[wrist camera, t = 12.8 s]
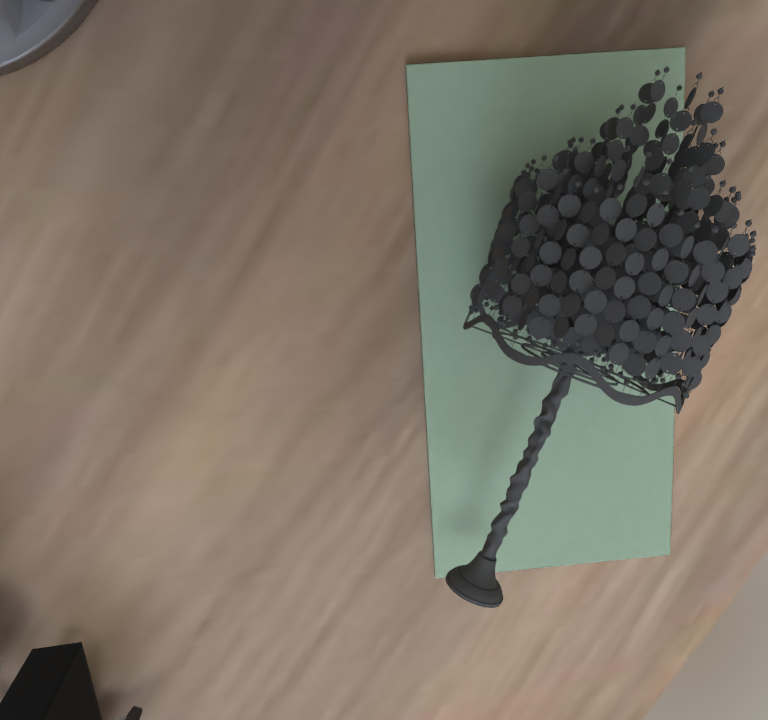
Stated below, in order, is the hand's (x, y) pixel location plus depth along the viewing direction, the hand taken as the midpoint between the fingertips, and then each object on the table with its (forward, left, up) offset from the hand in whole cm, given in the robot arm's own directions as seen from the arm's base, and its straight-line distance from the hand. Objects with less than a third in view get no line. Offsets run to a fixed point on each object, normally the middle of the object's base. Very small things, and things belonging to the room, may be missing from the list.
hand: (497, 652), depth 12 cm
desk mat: (0, +8, -23) cm, 24 cm away
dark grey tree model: (0, +7, -22) cm, 24 cm away
